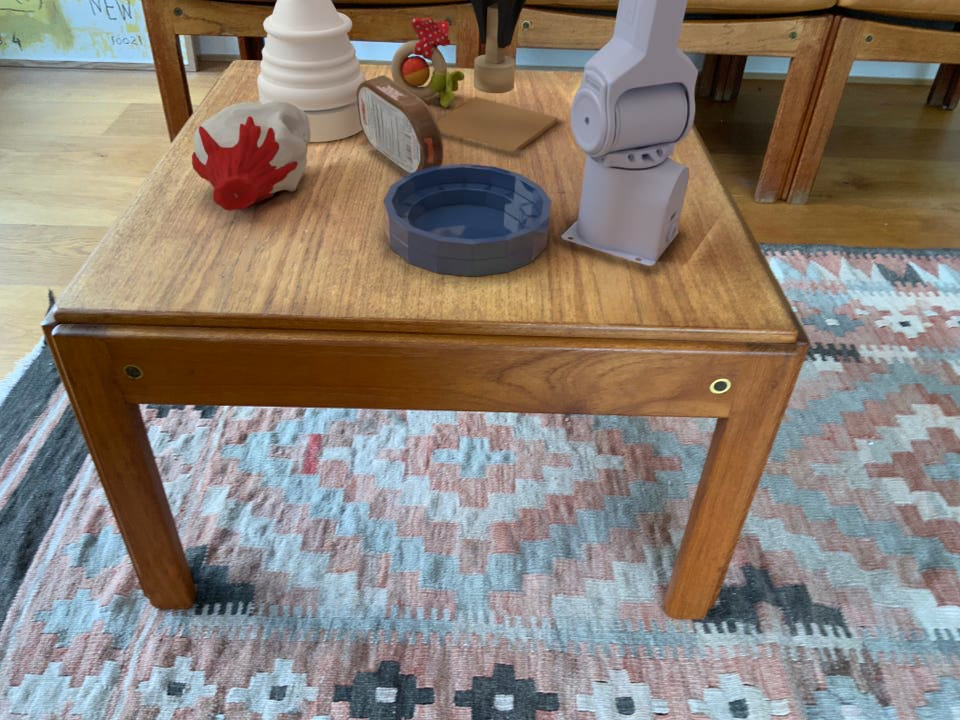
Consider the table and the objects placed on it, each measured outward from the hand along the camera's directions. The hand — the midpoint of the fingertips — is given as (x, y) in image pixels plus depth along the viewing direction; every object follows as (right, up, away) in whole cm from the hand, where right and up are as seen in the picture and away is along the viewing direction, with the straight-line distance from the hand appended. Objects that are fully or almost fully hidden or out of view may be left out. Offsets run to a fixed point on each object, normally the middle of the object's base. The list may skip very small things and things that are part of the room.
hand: (496, 44), depth 90 cm
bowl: (-3, -24, -14) cm, 28 cm away
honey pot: (-22, -7, +7) cm, 24 cm away
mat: (0, -7, +7) cm, 10 cm away
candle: (-25, -20, -9) cm, 33 cm away
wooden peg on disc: (0, -4, +3) cm, 5 cm away
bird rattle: (-9, -3, +13) cm, 16 cm away
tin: (-11, -14, -1) cm, 18 cm away
